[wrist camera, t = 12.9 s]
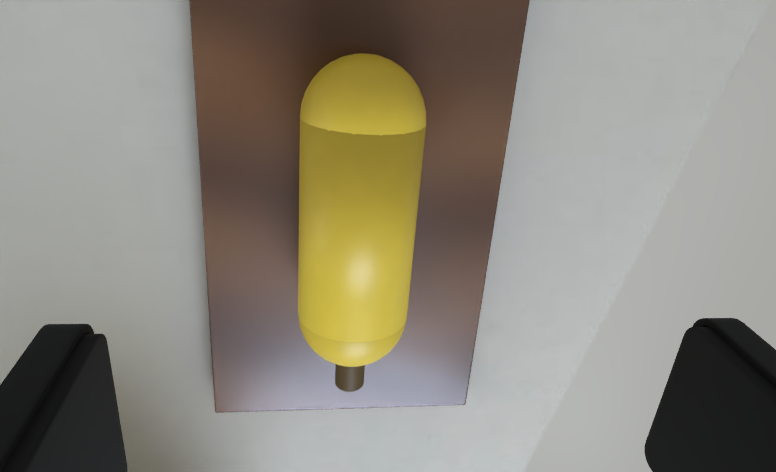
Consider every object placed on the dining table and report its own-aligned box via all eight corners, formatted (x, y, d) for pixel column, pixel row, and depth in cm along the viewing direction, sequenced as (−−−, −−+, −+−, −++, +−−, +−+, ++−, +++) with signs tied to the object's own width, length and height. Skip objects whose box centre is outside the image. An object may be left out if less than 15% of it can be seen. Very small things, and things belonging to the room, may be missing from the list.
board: (188, -126, 16) (180, -132, 15) (532, -91, 17) (545, -95, 16) (218, 396, 23) (215, 413, 22) (459, 389, 25) (465, 405, 24)
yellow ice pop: (303, 42, 17) (297, 57, 14) (422, 50, 18) (443, 66, 14) (299, 349, 22) (294, 415, 18) (394, 350, 22) (406, 414, 19)
